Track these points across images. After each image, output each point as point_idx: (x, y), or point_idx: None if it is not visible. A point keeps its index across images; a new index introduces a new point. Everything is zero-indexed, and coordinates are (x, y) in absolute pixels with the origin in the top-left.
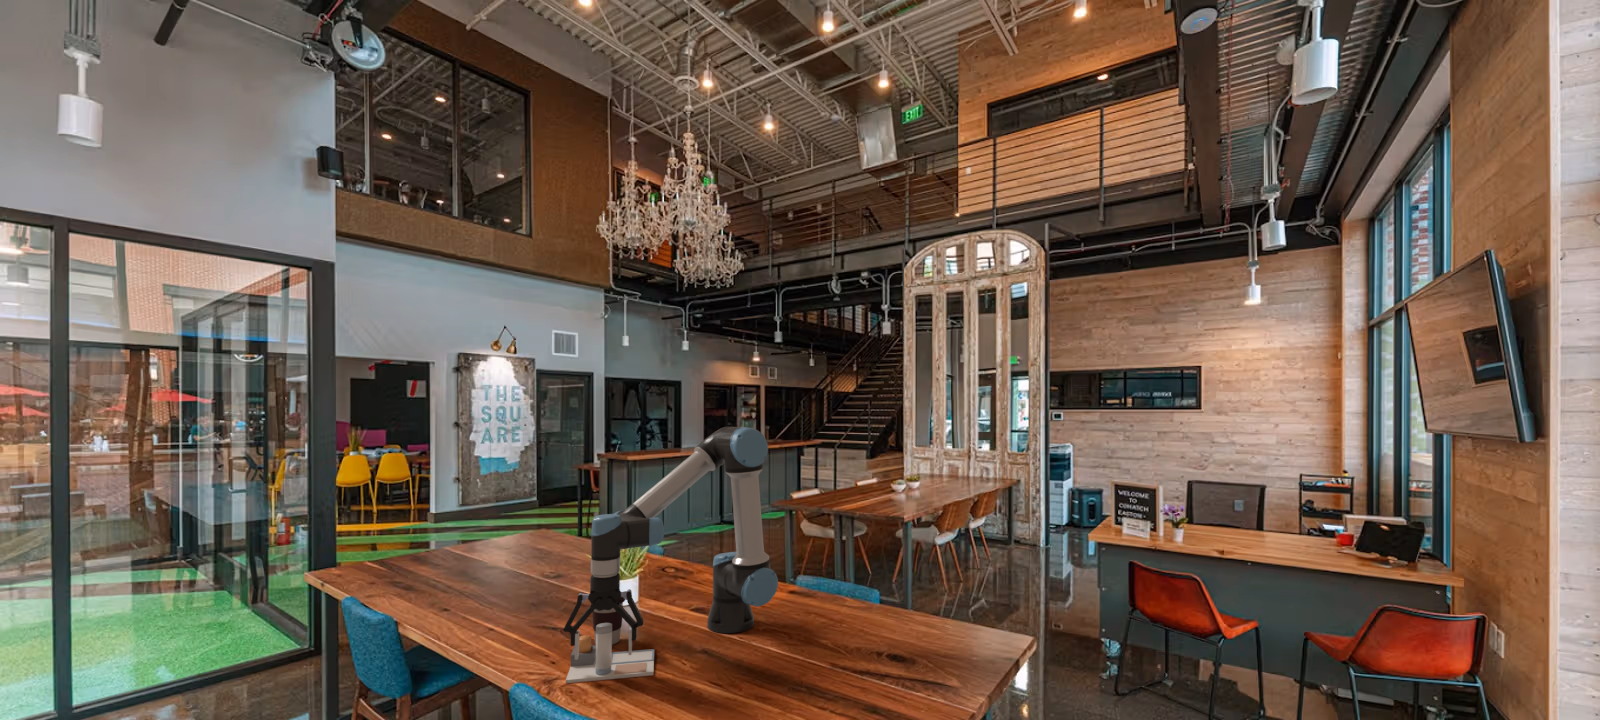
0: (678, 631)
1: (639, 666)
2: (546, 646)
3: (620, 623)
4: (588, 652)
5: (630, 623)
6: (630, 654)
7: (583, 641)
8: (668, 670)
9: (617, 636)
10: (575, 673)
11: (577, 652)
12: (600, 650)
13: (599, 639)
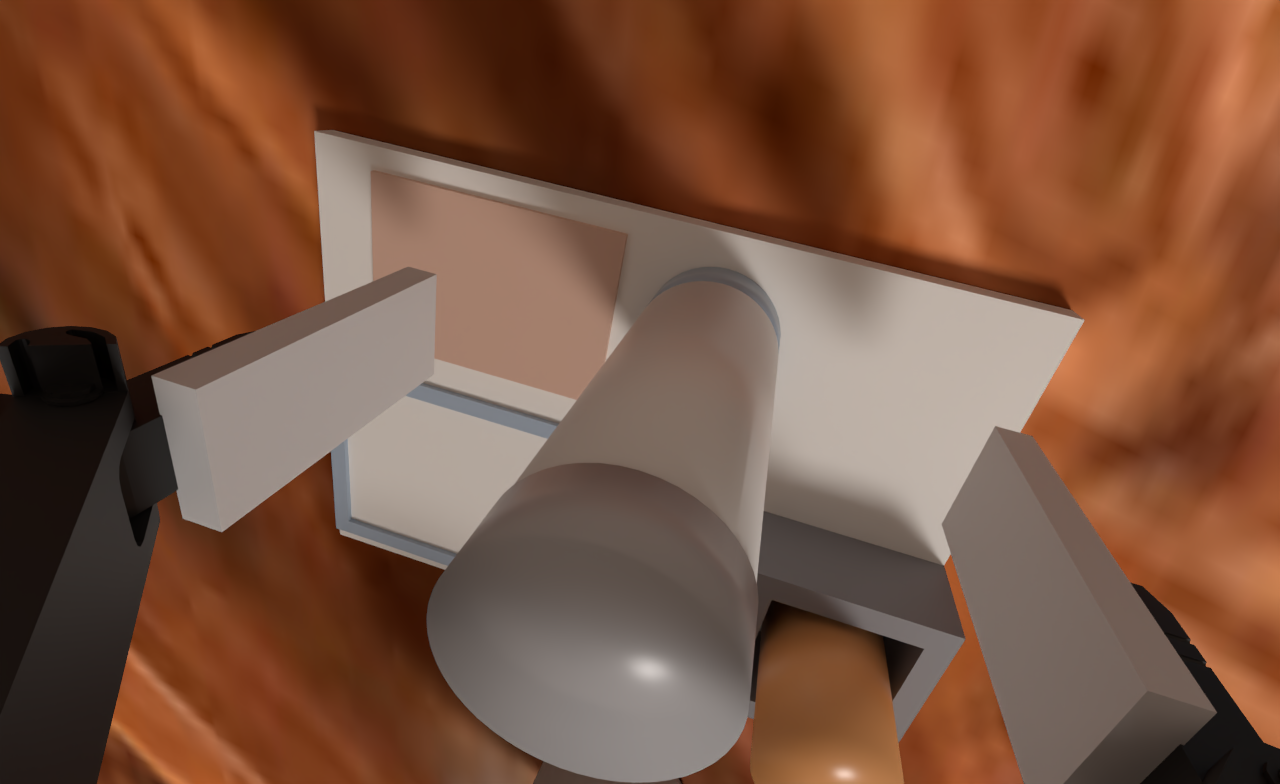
0: (249, 688)
1: None
2: None
3: None
4: (790, 622)
5: (54, 448)
6: (413, 271)
7: (846, 722)
8: (233, 174)
9: (546, 774)
10: (946, 421)
11: (1026, 472)
12: (724, 365)
13: (720, 452)
